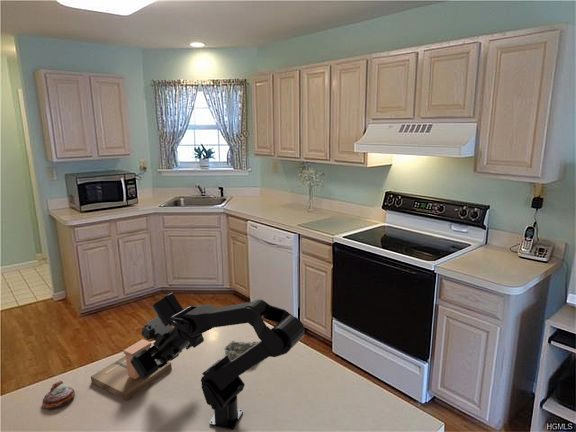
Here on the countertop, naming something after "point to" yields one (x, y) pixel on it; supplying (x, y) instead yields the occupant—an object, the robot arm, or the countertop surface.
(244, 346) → the egg carton
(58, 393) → the pastry
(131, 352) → the handle
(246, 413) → the countertop surface
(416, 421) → the countertop surface
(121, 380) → the fader track
